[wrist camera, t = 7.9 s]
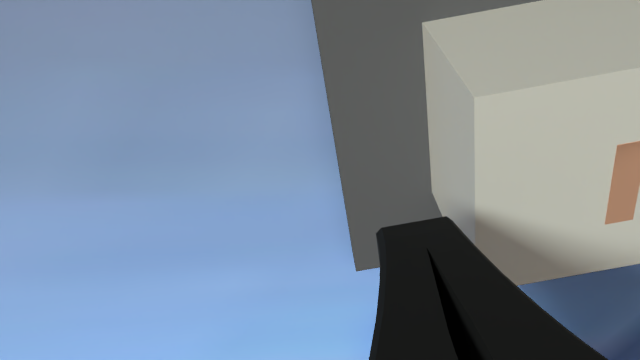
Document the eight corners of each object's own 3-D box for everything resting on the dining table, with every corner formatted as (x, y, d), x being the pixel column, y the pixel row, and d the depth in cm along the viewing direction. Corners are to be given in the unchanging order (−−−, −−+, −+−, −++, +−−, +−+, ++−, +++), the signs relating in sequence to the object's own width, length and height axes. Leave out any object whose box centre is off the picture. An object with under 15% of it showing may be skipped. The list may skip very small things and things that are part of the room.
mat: (940, -193, 13) (958, -192, 12) (797, 183, 18) (806, 190, 18) (299, -73, 13) (300, -69, 12) (354, 262, 18) (356, 271, 18)
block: (421, 22, 14) (759, -40, 14) (431, 191, 17) (711, 141, 17) (474, 98, 10) (920, 16, 10) (476, 293, 13) (825, 230, 13)
